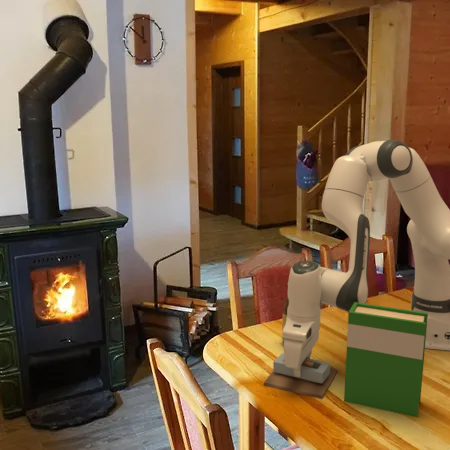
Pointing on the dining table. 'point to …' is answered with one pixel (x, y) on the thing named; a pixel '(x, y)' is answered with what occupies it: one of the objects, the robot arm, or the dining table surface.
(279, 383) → the post fixture
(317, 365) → the grey rectangular frame
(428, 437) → the dining table surface
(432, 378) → the dining table surface
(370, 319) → the hardback book
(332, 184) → the robot arm
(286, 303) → the sauce bottle
